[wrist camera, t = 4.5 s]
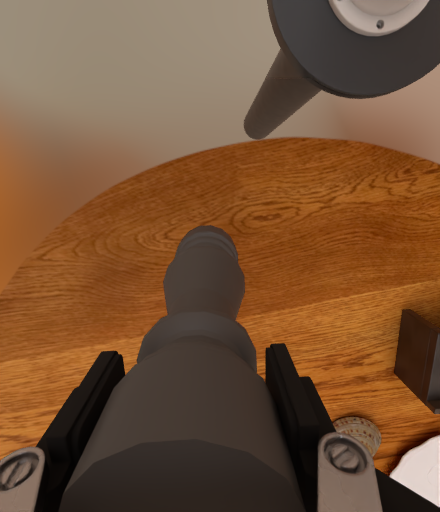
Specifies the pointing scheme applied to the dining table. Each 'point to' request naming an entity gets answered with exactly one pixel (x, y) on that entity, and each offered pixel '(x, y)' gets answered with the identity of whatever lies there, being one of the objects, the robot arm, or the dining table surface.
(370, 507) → the robot arm
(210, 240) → the candle holder
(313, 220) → the dining table surface
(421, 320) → the block with raised lip
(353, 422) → the seashell
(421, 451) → the plate
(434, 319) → the dining table surface
